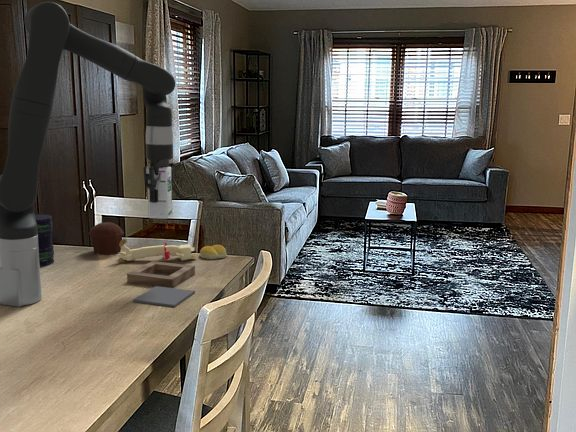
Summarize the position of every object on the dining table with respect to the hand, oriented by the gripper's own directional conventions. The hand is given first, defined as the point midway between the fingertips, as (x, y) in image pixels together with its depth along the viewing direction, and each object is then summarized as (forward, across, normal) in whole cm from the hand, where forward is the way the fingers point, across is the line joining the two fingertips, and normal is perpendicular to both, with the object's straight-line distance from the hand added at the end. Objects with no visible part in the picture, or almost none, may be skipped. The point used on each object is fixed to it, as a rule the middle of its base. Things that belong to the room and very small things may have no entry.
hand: (160, 200), depth 166 cm
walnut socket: (+23, +1, 0) cm, 24 cm away
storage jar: (+24, +1, +44) cm, 50 cm away
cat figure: (+24, +18, +10) cm, 32 cm away
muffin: (+24, +21, +32) cm, 45 cm away
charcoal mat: (+23, -14, -9) cm, 29 cm away
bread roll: (+24, +29, -4) cm, 38 cm away
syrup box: (+5, 0, 0) cm, 5 cm away
